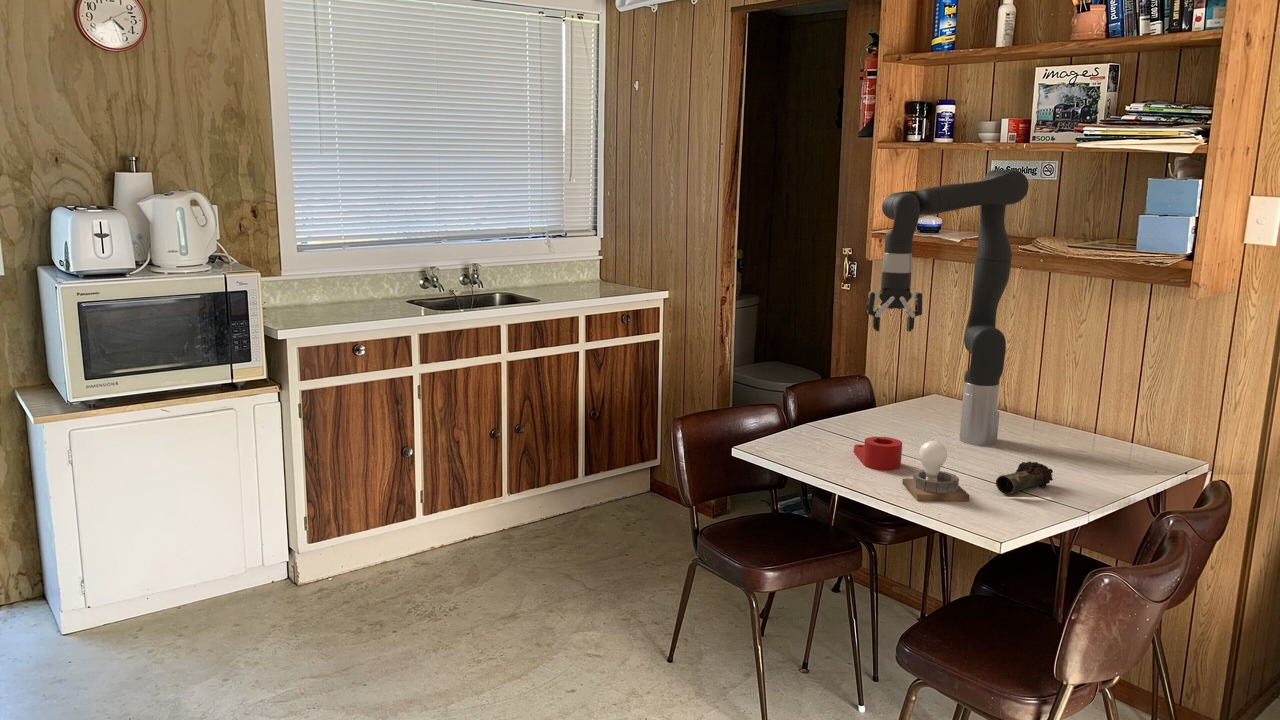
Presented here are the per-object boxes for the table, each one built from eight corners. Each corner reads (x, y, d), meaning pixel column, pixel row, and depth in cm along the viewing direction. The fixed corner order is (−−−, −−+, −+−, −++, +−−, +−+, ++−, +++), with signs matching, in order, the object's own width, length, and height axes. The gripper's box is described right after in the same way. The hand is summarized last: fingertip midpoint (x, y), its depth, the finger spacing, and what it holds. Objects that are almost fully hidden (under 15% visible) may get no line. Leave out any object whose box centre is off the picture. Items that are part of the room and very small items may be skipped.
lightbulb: (948, 490, 225) (951, 444, 223) (921, 490, 225) (923, 444, 223) (940, 482, 231) (943, 438, 229) (913, 482, 231) (916, 437, 230)
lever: (907, 470, 246) (909, 445, 245) (874, 472, 244) (876, 447, 243) (872, 451, 263) (874, 427, 262) (841, 453, 261) (842, 429, 260)
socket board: (951, 484, 235) (952, 469, 234) (968, 501, 223) (970, 484, 222) (902, 484, 234) (903, 468, 234) (917, 500, 223) (918, 484, 222)
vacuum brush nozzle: (1012, 497, 224) (1015, 474, 223) (987, 488, 230) (990, 466, 229) (1055, 486, 234) (1059, 464, 233) (1030, 479, 240) (1034, 457, 239)
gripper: (919, 269, 257) (915, 329, 261) (866, 268, 257) (862, 328, 260) (928, 272, 250) (923, 333, 253) (873, 271, 250) (869, 333, 253)
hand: (892, 331), depth 257 cm, fingers open, 8 cm apart
